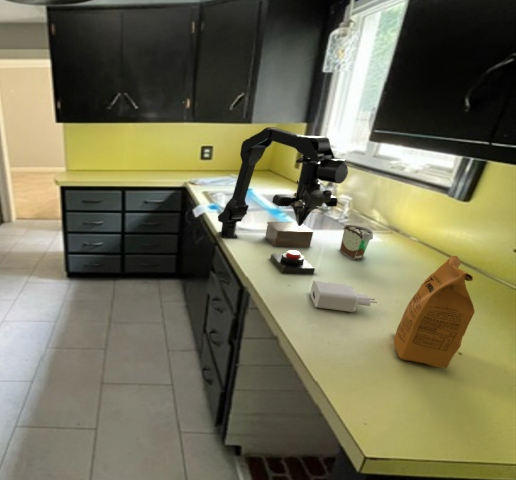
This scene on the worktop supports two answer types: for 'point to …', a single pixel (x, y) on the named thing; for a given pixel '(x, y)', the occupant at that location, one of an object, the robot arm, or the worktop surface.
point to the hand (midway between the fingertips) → (299, 225)
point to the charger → (337, 296)
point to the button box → (292, 264)
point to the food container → (355, 241)
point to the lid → (289, 227)
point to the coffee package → (436, 317)
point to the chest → (288, 238)
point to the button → (293, 254)
